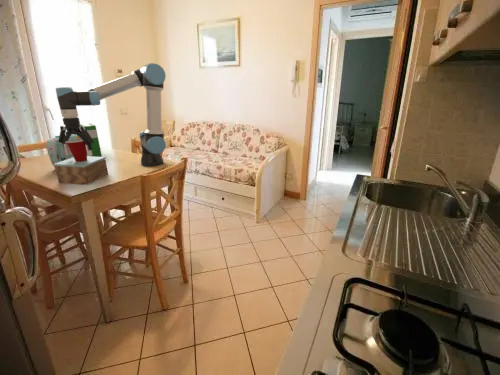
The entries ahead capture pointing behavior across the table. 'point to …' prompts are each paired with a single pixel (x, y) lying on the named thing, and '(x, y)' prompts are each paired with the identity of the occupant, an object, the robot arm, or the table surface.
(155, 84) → the robot arm
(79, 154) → the plastic cup
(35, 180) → the table surface
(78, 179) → the wooden box
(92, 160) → the pale teal square panel
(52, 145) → the lunch box
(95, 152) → the hardback book
